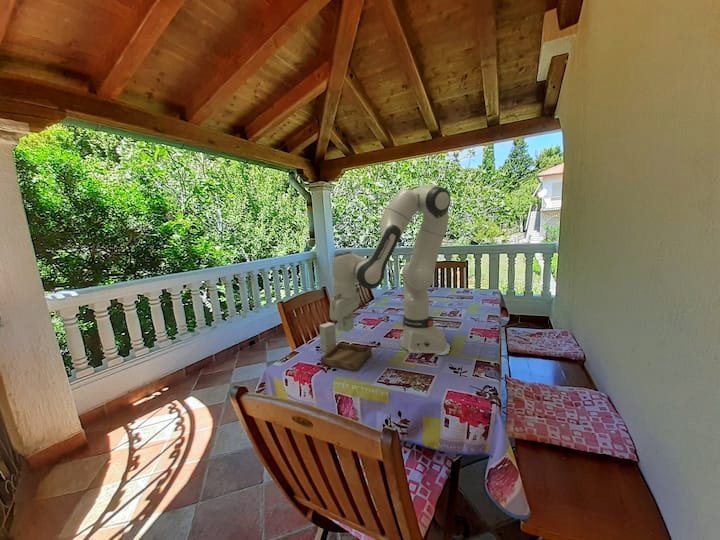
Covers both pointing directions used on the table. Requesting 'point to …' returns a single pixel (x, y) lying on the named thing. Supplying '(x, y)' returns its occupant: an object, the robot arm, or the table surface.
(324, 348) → the skincare box
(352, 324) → the sage block
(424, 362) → the table surface
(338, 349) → the walnut tray
